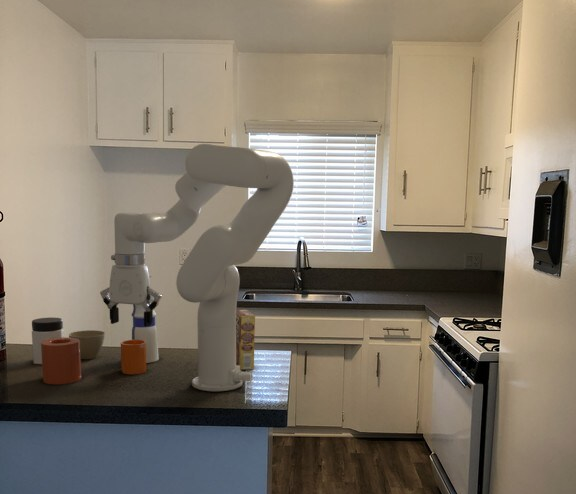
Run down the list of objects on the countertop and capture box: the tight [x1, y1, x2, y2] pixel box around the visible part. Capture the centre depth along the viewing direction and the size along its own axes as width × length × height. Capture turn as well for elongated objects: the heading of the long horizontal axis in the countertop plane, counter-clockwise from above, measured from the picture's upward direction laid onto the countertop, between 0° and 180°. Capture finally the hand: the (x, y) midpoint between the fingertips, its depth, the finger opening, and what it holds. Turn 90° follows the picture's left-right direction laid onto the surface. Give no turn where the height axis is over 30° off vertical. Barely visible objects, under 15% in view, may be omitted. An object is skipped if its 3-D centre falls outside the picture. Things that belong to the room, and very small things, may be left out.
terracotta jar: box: [41, 336, 82, 385], centre depth 160 cm, size 9×9×10 cm
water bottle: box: [131, 275, 160, 364], centre depth 179 cm, size 8×9×25 cm
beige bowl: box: [68, 330, 106, 360], centre depth 183 cm, size 10×10×7 cm
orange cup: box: [120, 339, 148, 375], centre depth 168 cm, size 6×6×8 cm
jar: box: [31, 317, 65, 366], centre depth 177 cm, size 9×8×12 cm
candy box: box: [236, 309, 256, 371], centre depth 174 cm, size 9×4×15 cm, turn 16°
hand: (131, 324), depth 167 cm, fingers open, 9 cm apart
